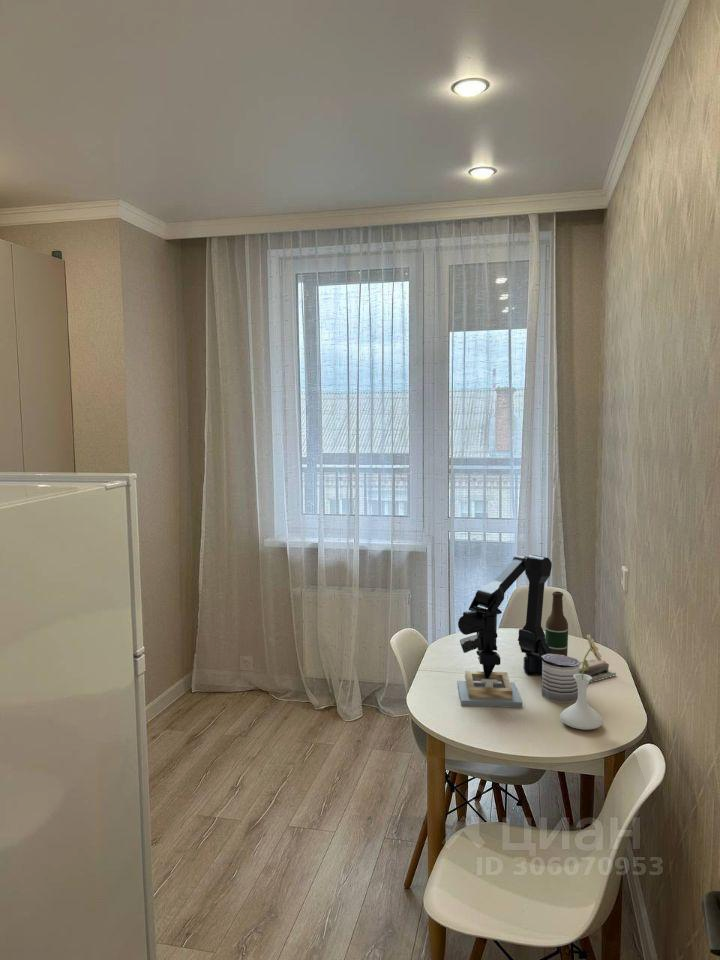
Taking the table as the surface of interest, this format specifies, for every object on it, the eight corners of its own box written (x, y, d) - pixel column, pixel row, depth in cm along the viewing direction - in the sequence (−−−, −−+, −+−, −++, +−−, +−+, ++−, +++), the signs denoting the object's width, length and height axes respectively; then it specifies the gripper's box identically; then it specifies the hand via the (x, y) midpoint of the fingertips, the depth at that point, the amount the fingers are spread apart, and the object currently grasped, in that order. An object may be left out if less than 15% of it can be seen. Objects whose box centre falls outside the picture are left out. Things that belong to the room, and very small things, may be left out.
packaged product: (578, 672, 223) (555, 663, 231) (578, 687, 223) (555, 677, 232) (616, 663, 232) (593, 654, 240) (616, 677, 232) (592, 668, 241)
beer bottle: (555, 653, 255) (557, 588, 253) (571, 659, 248) (574, 593, 246) (540, 656, 251) (541, 591, 249) (556, 663, 244) (558, 596, 242)
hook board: (514, 687, 222) (514, 669, 221) (522, 707, 206) (522, 689, 205) (457, 685, 223) (457, 668, 223) (461, 705, 207) (461, 687, 207)
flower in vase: (592, 737, 186) (595, 646, 184) (552, 725, 194) (555, 637, 192) (611, 722, 196) (614, 635, 194) (572, 711, 203) (575, 627, 201)
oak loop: (506, 679, 221) (506, 672, 221) (512, 698, 209) (512, 691, 208) (465, 678, 222) (465, 671, 222) (468, 697, 210) (468, 689, 209)
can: (535, 689, 220) (536, 652, 219) (570, 688, 221) (571, 651, 220) (548, 703, 209) (549, 664, 208) (585, 702, 210) (586, 663, 209)
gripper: (459, 619, 229) (458, 666, 231) (463, 637, 211) (463, 687, 212) (493, 620, 228) (492, 666, 230) (501, 638, 210) (500, 688, 211)
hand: (486, 677), depth 221 cm, fingers closed on oak loop, 2 cm apart
